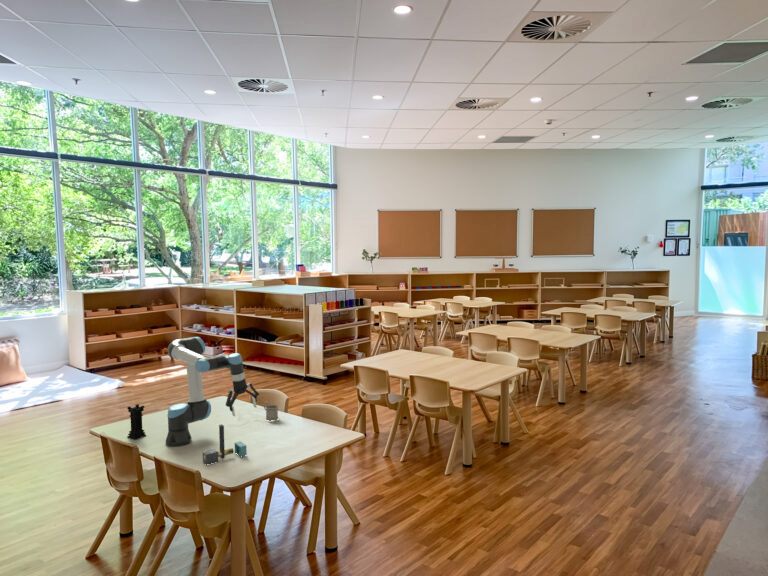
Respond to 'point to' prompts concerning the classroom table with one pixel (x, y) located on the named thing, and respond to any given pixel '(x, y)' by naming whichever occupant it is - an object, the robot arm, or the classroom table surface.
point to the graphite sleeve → (210, 456)
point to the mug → (271, 412)
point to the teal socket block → (240, 448)
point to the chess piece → (136, 422)
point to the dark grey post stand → (222, 444)
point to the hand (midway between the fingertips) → (244, 411)
